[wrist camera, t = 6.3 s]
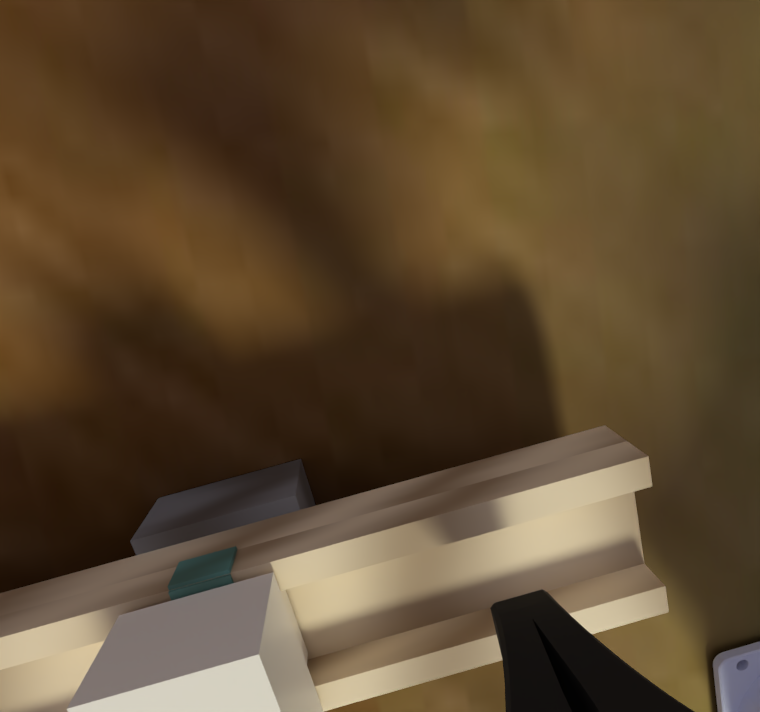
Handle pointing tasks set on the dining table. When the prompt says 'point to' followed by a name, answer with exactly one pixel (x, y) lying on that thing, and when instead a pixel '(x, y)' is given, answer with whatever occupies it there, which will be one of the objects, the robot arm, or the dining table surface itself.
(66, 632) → the beam
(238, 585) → the rider
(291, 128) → the dining table surface
